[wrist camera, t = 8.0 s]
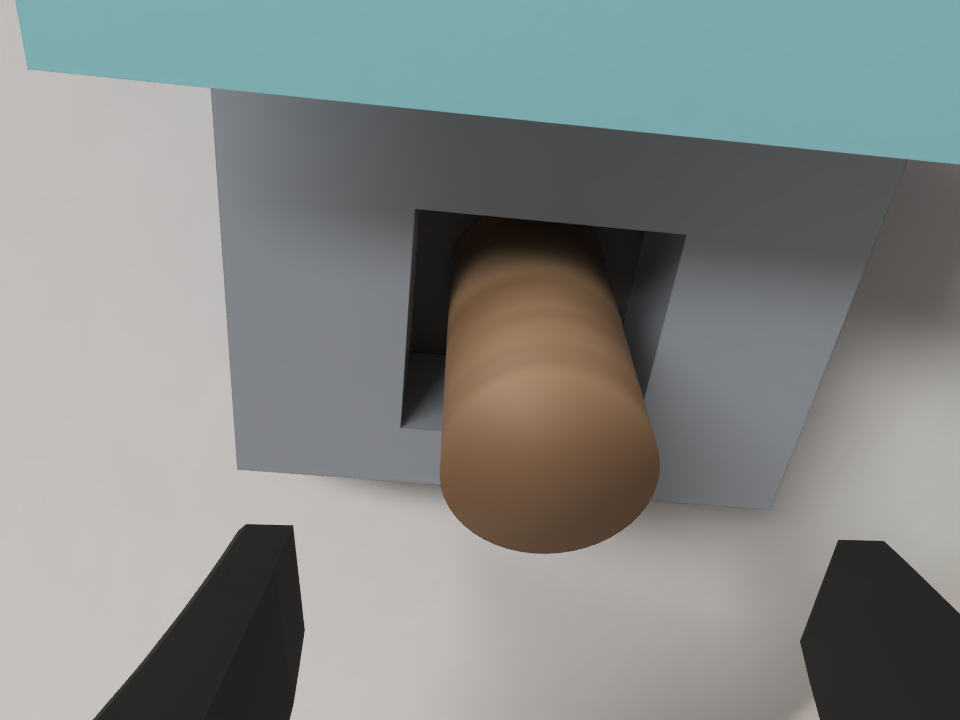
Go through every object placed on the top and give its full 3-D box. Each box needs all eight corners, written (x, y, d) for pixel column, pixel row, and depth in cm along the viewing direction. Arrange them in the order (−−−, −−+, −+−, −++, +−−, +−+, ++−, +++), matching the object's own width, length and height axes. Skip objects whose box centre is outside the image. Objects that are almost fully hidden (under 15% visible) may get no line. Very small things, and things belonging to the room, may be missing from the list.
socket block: (914, -96, 15) (999, -77, 13) (736, 429, 22) (769, 510, 19) (241, -178, 15) (192, -175, 12) (265, 390, 21) (237, 469, 18)
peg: (598, 337, 20) (649, 552, 14) (452, 340, 20) (444, 555, 14) (609, 200, 18) (671, 382, 12) (448, 203, 18) (434, 386, 12)
